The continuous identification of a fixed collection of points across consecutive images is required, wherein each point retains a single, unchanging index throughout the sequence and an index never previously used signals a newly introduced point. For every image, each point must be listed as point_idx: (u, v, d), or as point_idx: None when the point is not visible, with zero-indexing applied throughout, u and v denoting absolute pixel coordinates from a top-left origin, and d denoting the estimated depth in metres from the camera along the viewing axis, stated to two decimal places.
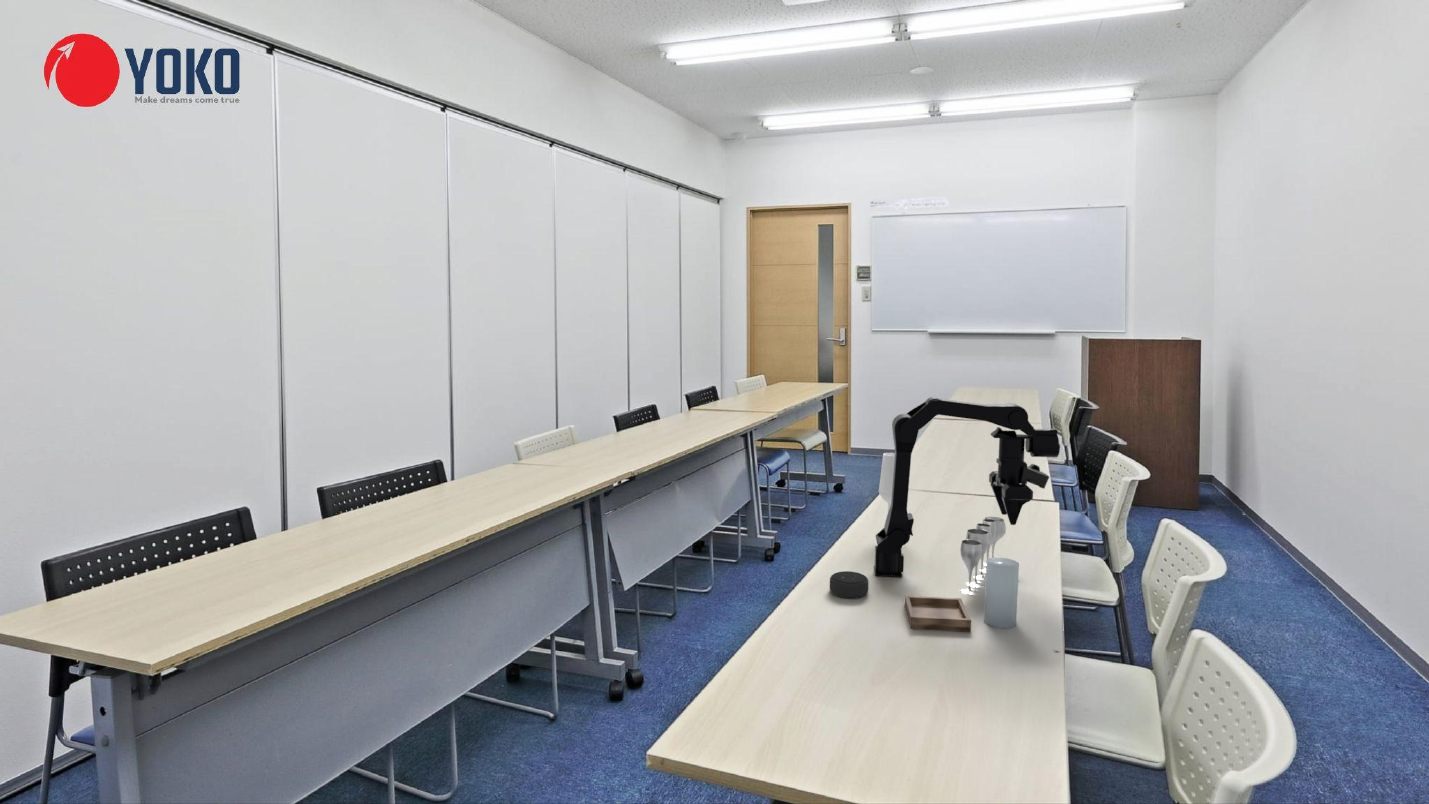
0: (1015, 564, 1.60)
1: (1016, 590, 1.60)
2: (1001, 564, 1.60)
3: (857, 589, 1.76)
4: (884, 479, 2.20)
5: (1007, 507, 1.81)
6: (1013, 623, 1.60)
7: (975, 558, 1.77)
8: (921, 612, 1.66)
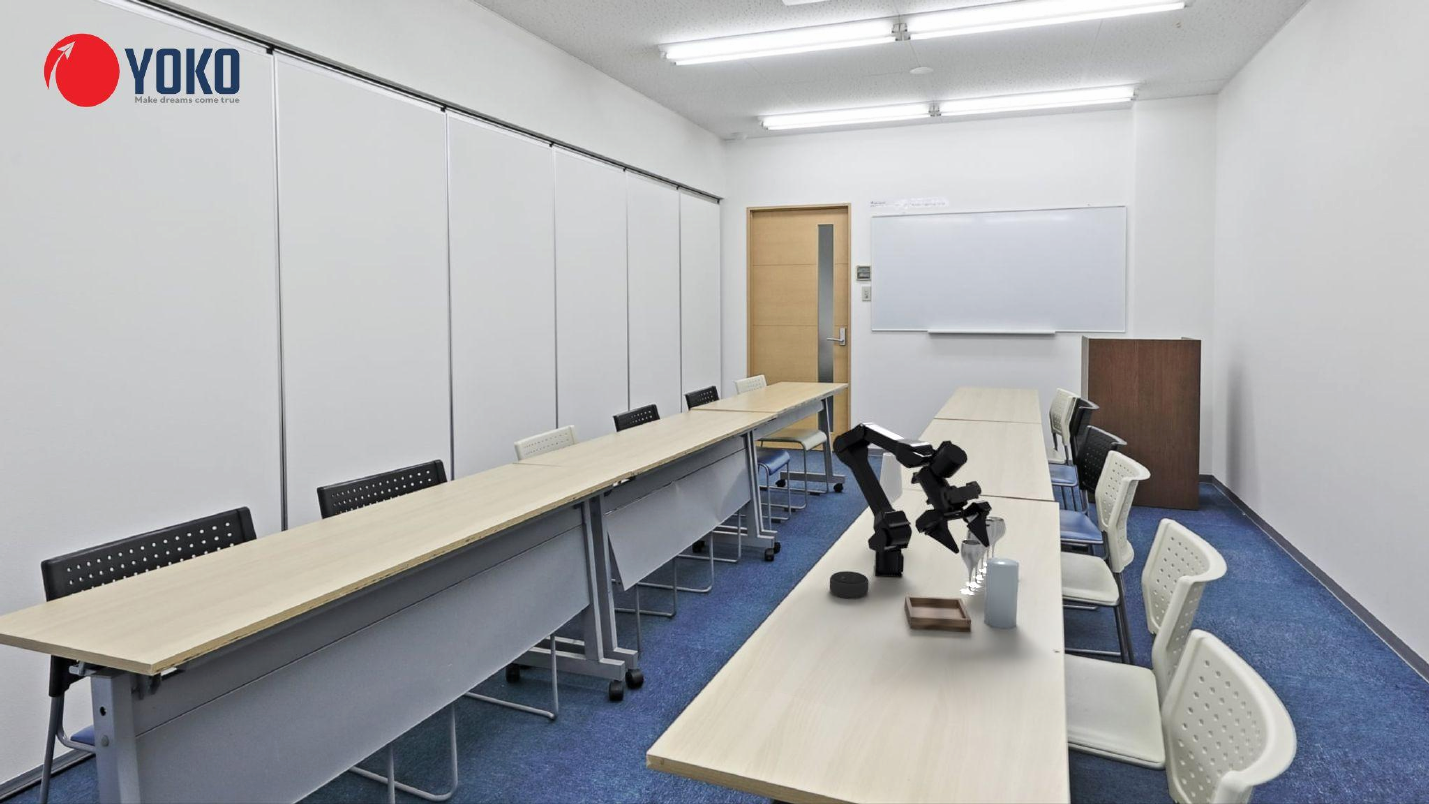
0: (1015, 564, 1.60)
1: (1016, 590, 1.60)
2: (1001, 564, 1.60)
3: (857, 590, 1.76)
4: (884, 479, 2.20)
5: (937, 539, 1.69)
6: (1013, 623, 1.60)
7: (975, 558, 1.77)
8: (921, 612, 1.66)
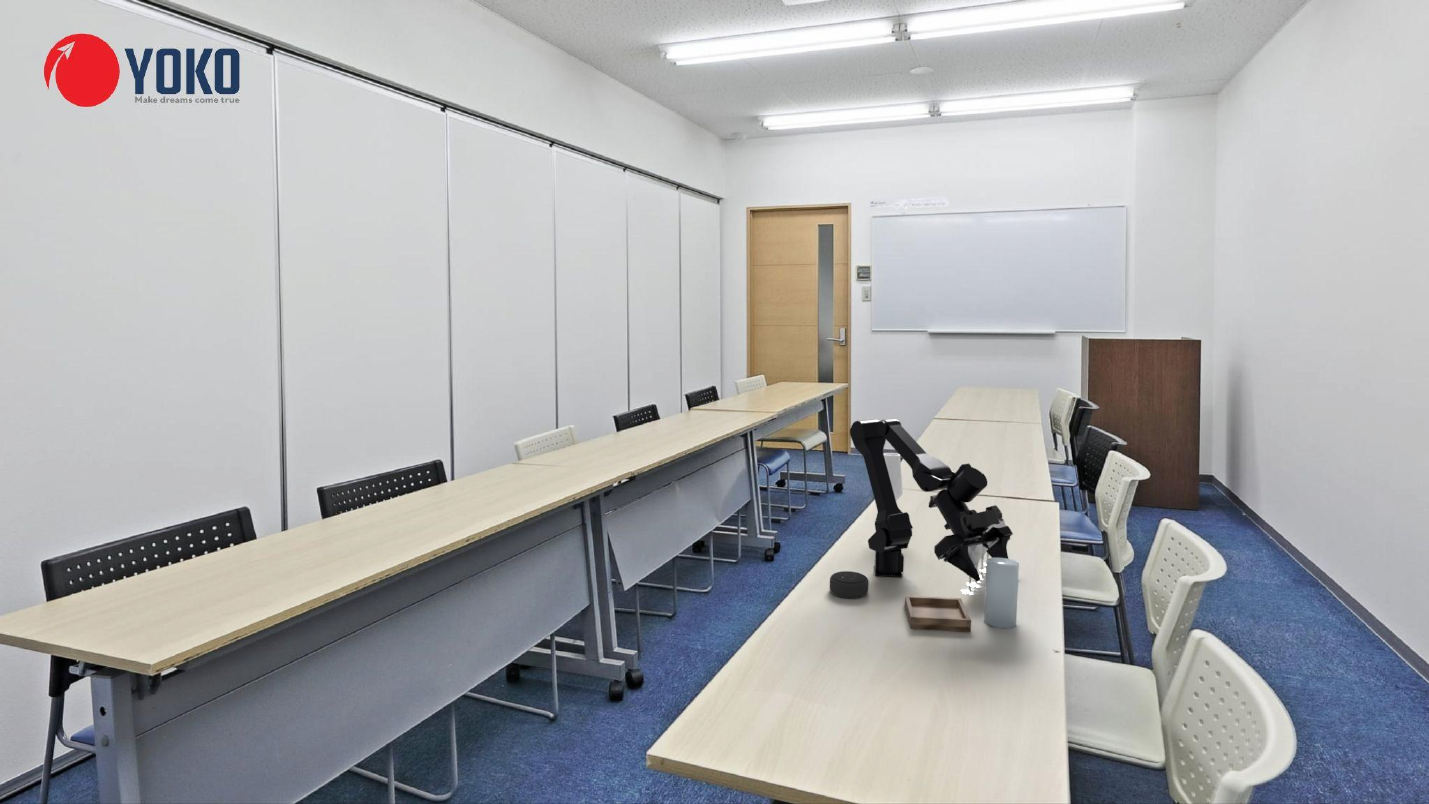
0: (1015, 564, 1.60)
1: (1016, 590, 1.60)
2: (1001, 564, 1.60)
3: (857, 589, 1.76)
4: None
5: (957, 566, 1.64)
6: (1013, 623, 1.60)
7: (975, 558, 1.77)
8: (921, 612, 1.66)
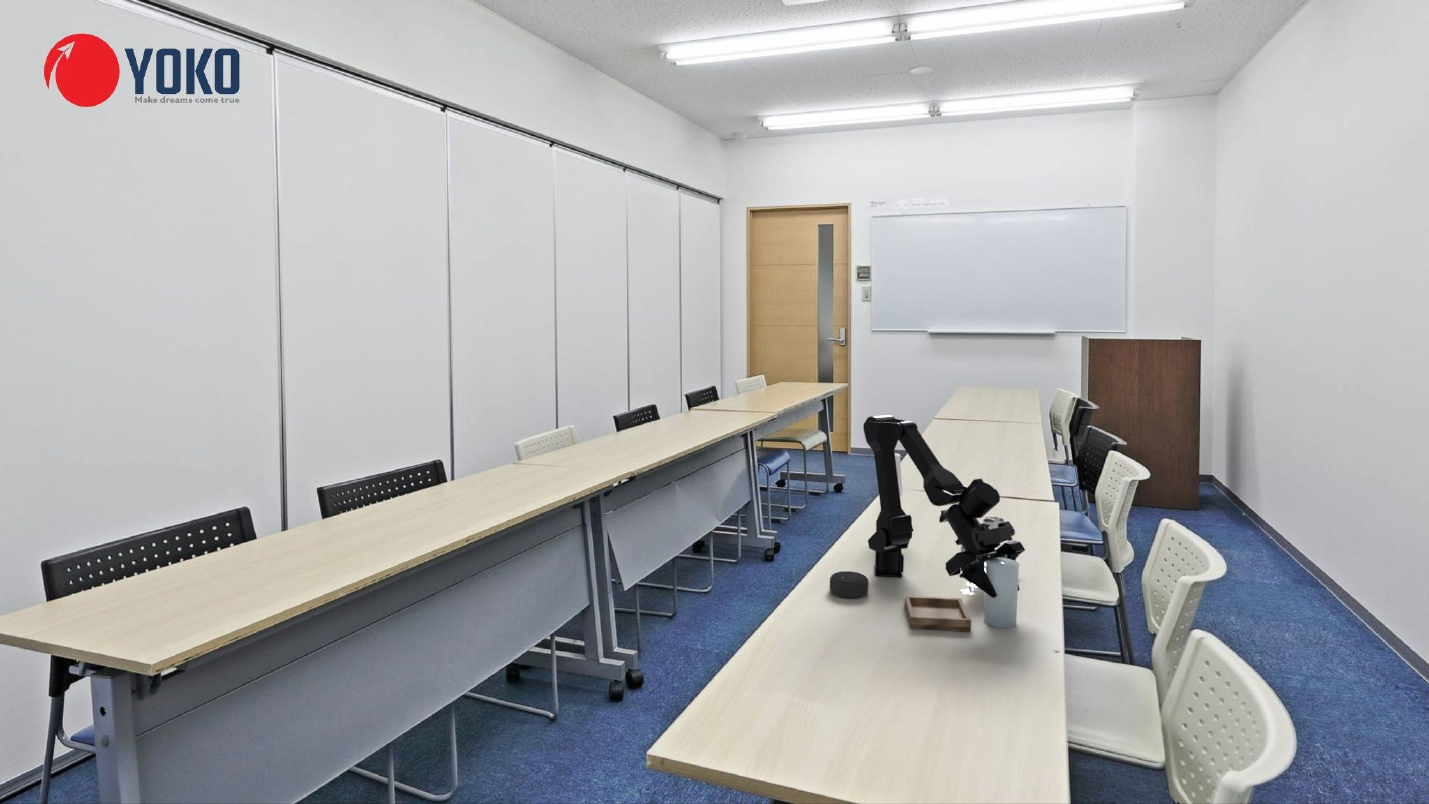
0: (1015, 564, 1.60)
1: (1016, 590, 1.60)
2: (1002, 564, 1.60)
3: (857, 589, 1.76)
4: None
5: (973, 582, 1.62)
6: (1013, 623, 1.60)
7: None
8: (921, 612, 1.66)
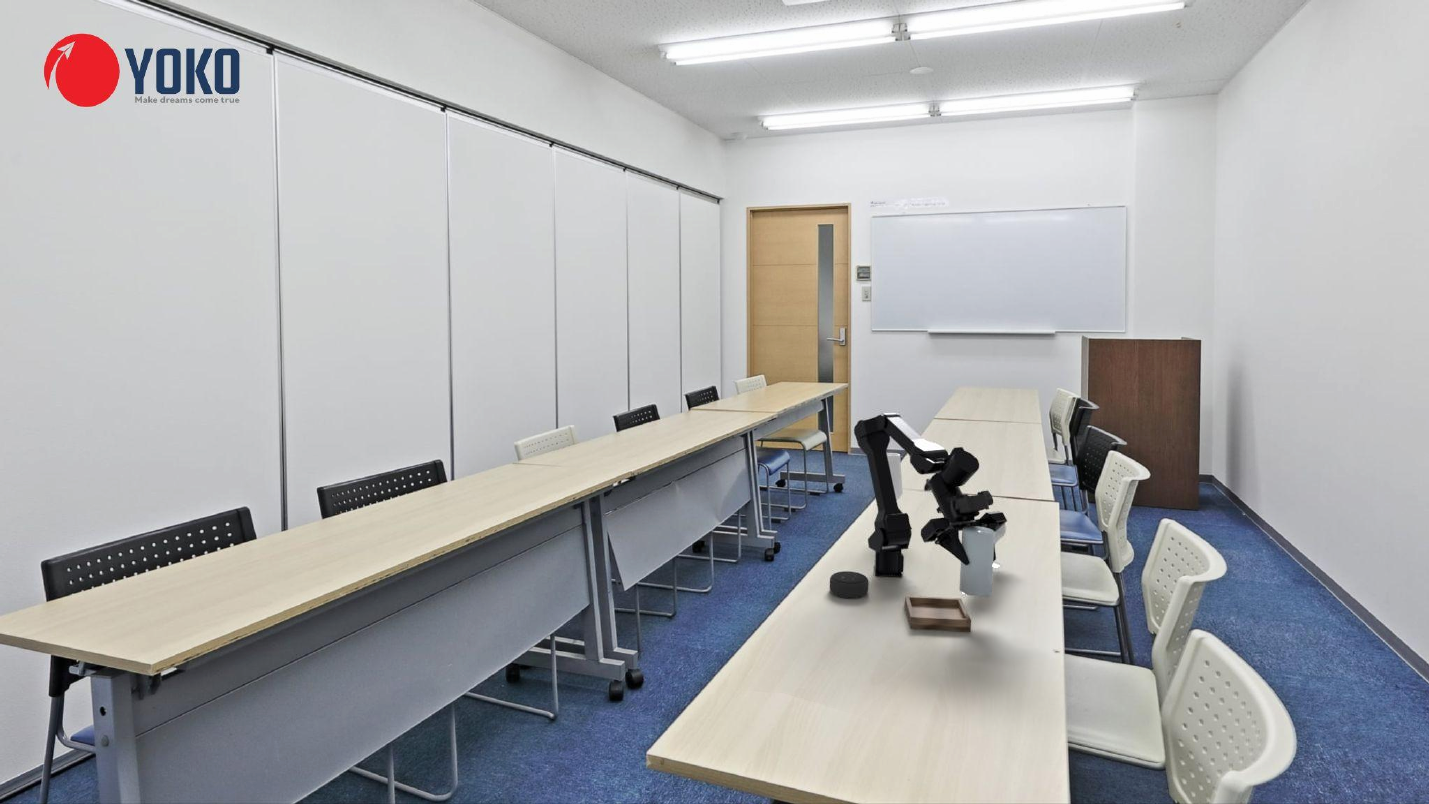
0: (990, 533, 1.59)
1: (990, 559, 1.59)
2: (976, 532, 1.60)
3: (857, 589, 1.76)
4: None
5: (948, 549, 1.62)
6: (987, 592, 1.60)
7: None
8: (921, 612, 1.66)
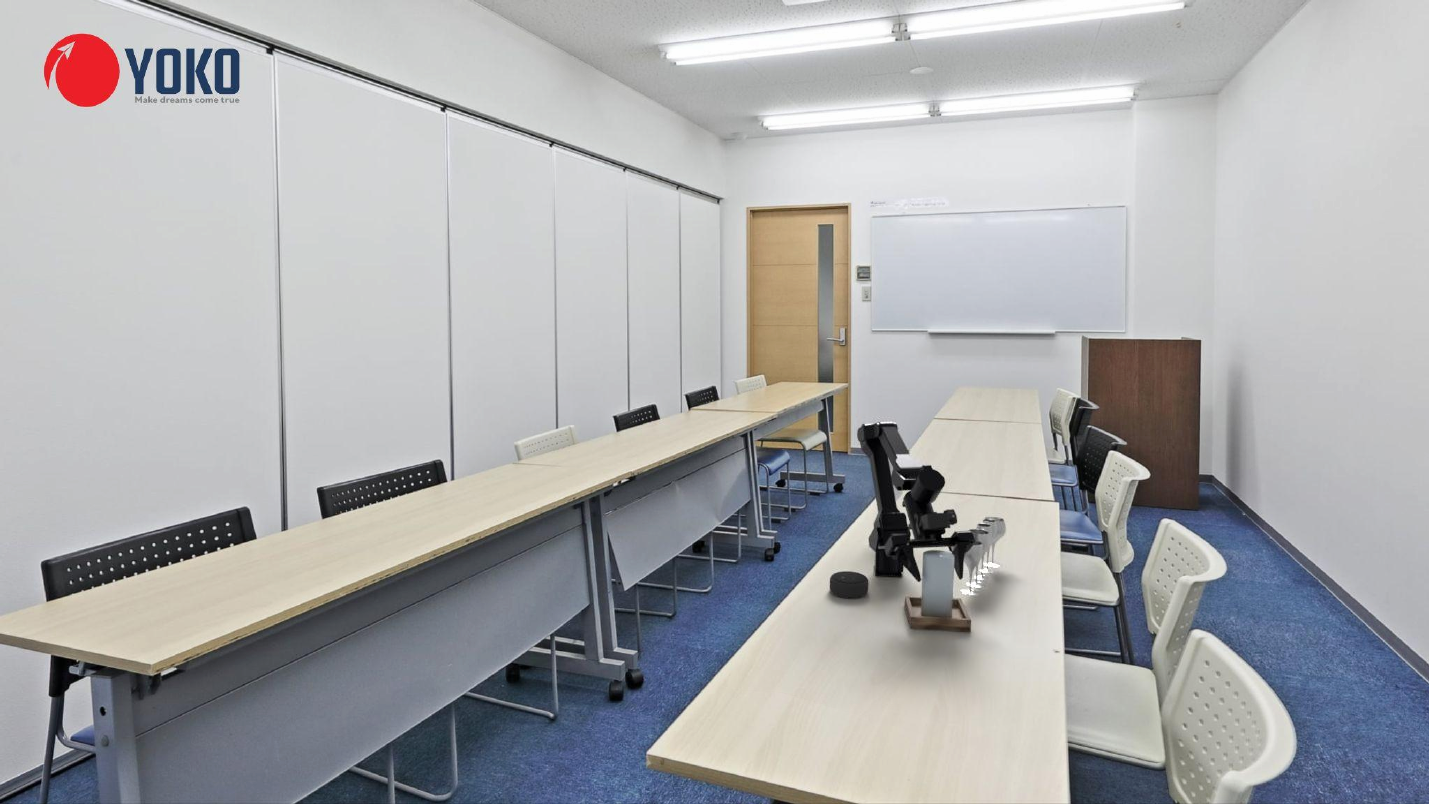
0: (949, 557, 1.61)
1: (948, 583, 1.61)
2: (935, 556, 1.62)
3: (857, 589, 1.76)
4: None
5: (904, 565, 1.66)
6: (944, 616, 1.62)
7: (975, 558, 1.77)
8: None
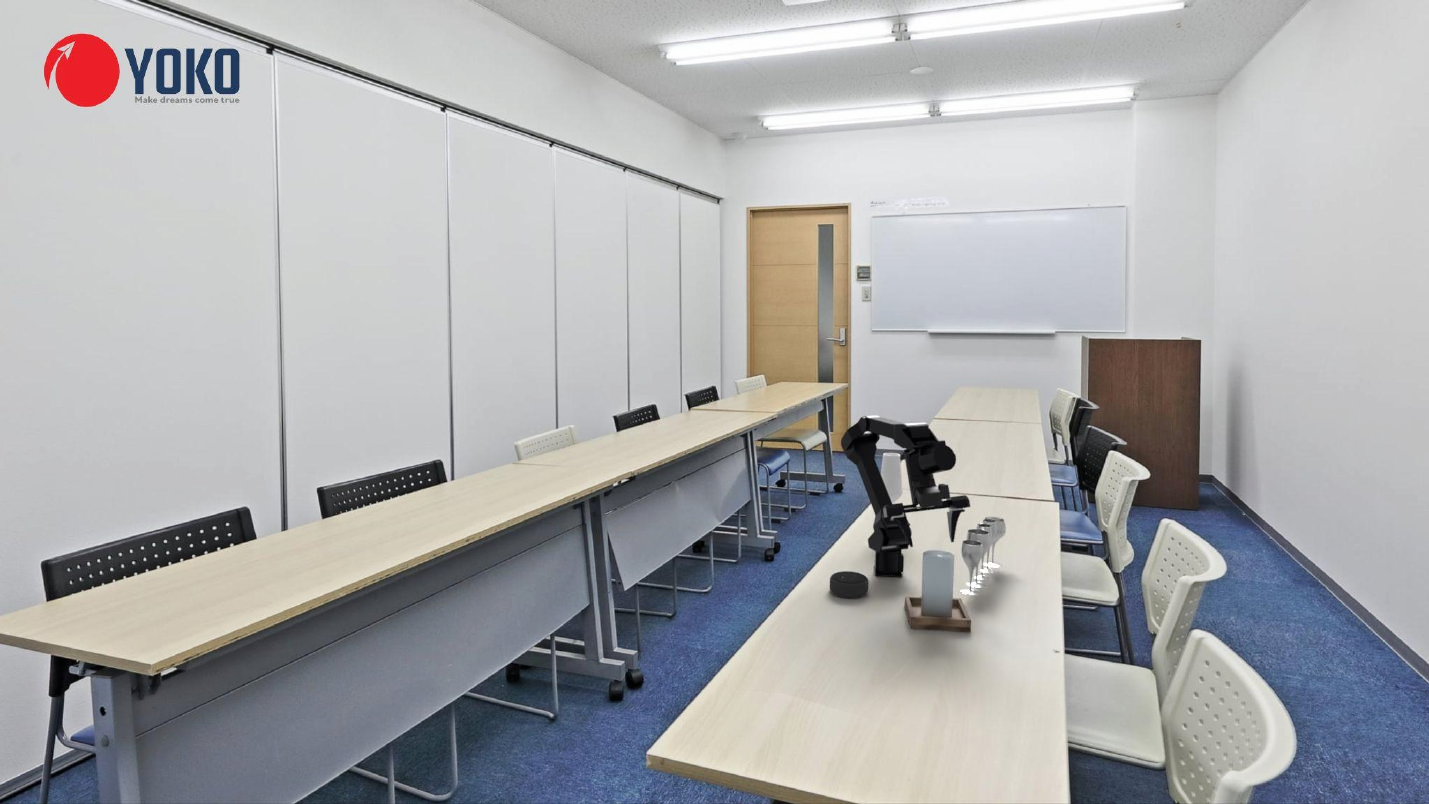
0: (949, 558, 1.61)
1: (948, 583, 1.61)
2: (935, 556, 1.62)
3: (857, 589, 1.76)
4: (884, 479, 2.20)
5: (900, 528, 1.79)
6: (944, 616, 1.62)
7: (975, 558, 1.77)
8: None
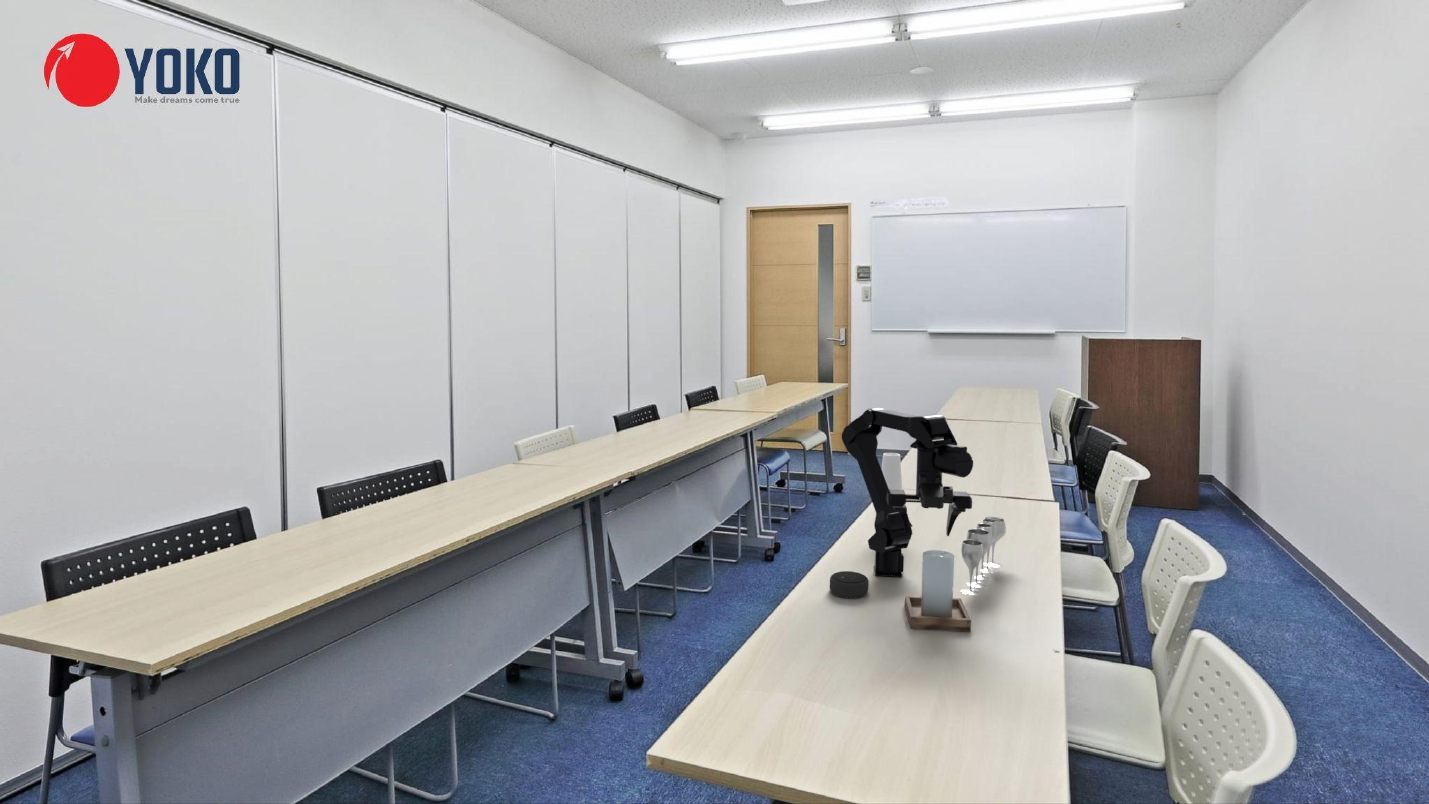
0: (948, 557, 1.61)
1: (948, 583, 1.61)
2: (935, 556, 1.62)
3: (857, 589, 1.76)
4: None
5: None
6: (944, 616, 1.62)
7: (976, 558, 1.77)
8: None
